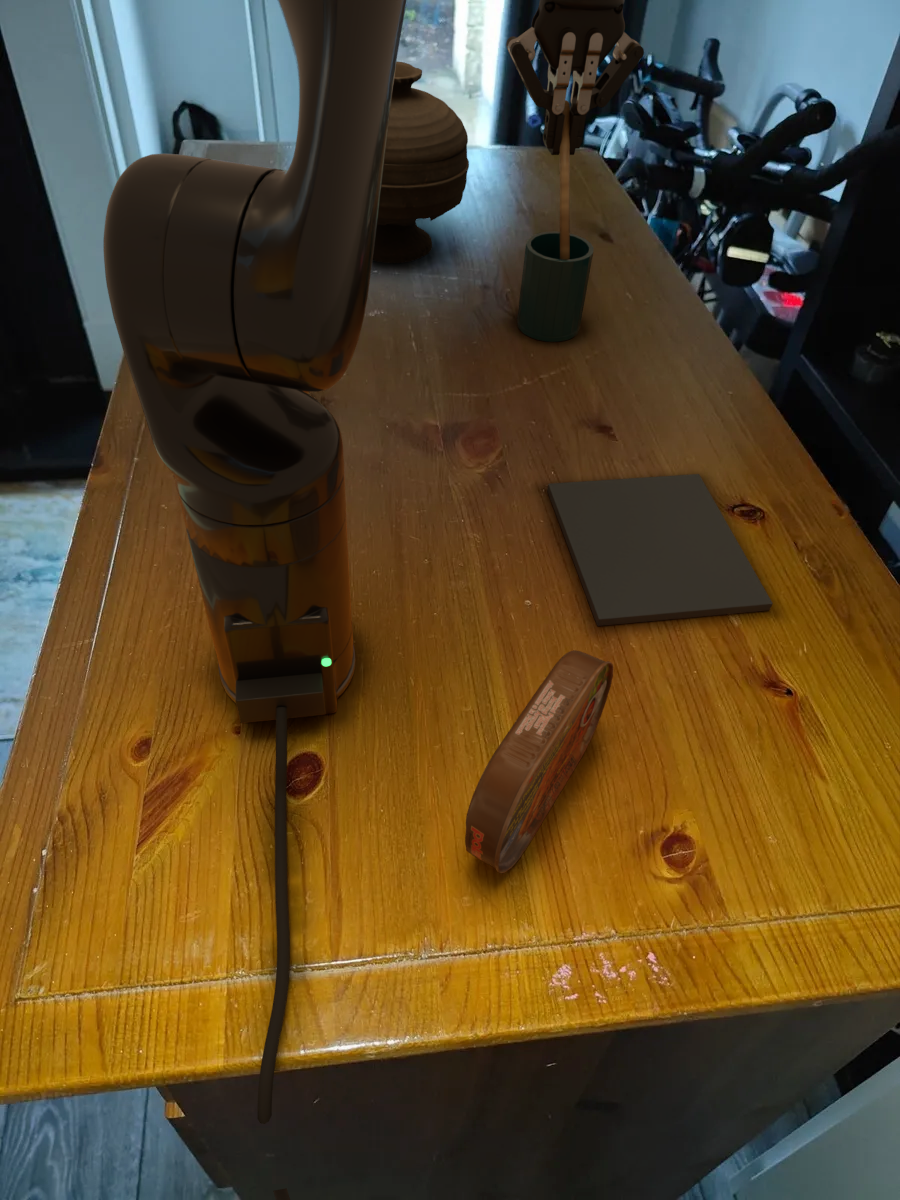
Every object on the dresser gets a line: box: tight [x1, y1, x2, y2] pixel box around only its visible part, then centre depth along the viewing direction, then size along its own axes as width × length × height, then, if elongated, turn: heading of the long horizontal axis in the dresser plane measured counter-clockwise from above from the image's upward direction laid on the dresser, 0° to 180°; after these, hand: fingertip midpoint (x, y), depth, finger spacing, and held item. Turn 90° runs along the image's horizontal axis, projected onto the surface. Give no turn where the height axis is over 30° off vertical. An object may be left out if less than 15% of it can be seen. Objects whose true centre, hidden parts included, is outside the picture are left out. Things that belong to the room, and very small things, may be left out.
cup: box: [516, 230, 595, 343], centre depth 91 cm, size 7×7×9 cm
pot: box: [373, 61, 470, 264], centre depth 99 cm, size 18×18×20 cm
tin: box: [464, 649, 614, 874], centre depth 51 cm, size 15×3×8 cm, turn 148°
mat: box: [546, 473, 773, 627], centre depth 70 cm, size 16×14×1 cm
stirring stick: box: [559, 99, 571, 260], centre depth 84 cm, size 8×1×13 cm, turn 9°
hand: (561, 151), depth 84 cm, fingers closed on stirring stick, 1 cm apart
